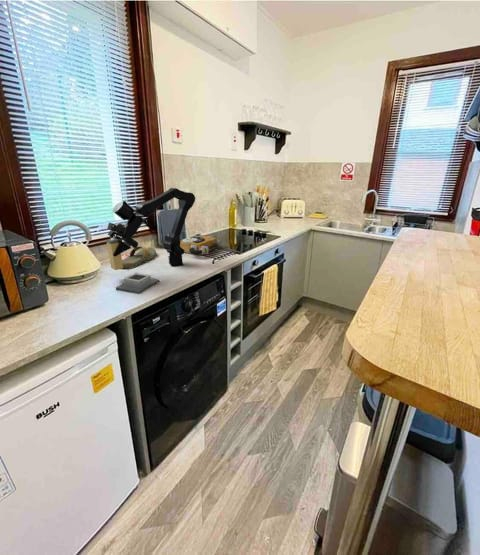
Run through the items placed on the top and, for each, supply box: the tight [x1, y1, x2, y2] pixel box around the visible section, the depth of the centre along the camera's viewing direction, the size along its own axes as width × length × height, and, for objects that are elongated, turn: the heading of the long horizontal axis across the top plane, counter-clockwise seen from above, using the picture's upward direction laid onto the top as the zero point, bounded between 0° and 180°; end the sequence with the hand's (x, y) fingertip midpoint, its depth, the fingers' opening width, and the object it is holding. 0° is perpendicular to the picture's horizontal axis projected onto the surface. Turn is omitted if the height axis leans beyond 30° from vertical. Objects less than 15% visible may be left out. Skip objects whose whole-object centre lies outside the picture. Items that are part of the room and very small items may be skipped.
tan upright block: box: [105, 238, 124, 271], centre depth 122 cm, size 4×5×14 cm
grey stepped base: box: [115, 273, 160, 295], centre depth 120 cm, size 14×12×4 cm
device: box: [180, 233, 222, 256], centre depth 171 cm, size 23×8×30 cm
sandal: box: [122, 245, 157, 270], centre depth 152 cm, size 12×30×8 cm, turn 165°
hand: (111, 254), depth 121 cm, fingers closed on tan upright block, 4 cm apart
